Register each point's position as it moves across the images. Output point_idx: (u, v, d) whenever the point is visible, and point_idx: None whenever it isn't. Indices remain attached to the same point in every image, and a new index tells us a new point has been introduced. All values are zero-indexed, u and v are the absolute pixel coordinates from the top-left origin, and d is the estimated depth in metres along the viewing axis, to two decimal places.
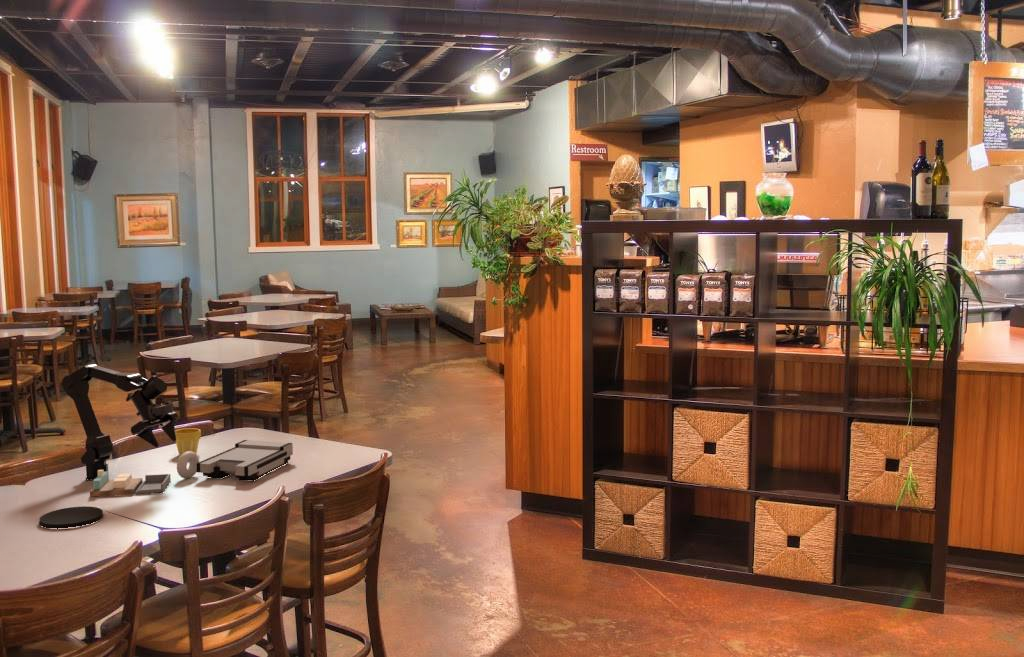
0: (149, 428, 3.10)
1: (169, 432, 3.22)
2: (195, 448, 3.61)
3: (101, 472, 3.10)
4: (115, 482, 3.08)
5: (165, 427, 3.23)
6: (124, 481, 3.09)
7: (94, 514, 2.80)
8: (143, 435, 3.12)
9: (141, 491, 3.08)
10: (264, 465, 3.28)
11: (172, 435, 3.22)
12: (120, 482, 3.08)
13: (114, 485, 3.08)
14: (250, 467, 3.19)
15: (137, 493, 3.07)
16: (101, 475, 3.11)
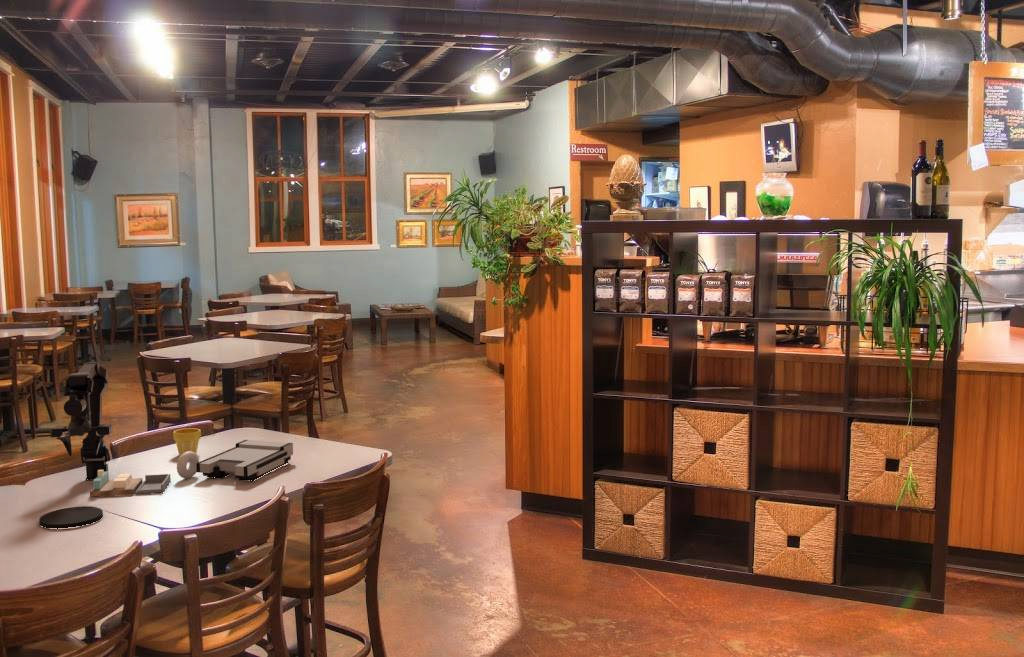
0: (60, 439, 3.05)
1: None
2: (195, 448, 3.61)
3: (101, 472, 3.10)
4: (115, 482, 3.08)
5: None
6: (124, 481, 3.09)
7: (94, 514, 2.80)
8: None
9: (141, 491, 3.08)
10: (264, 465, 3.28)
11: None
12: (120, 482, 3.08)
13: (114, 485, 3.08)
14: (249, 467, 3.19)
15: (137, 493, 3.07)
16: (101, 475, 3.11)
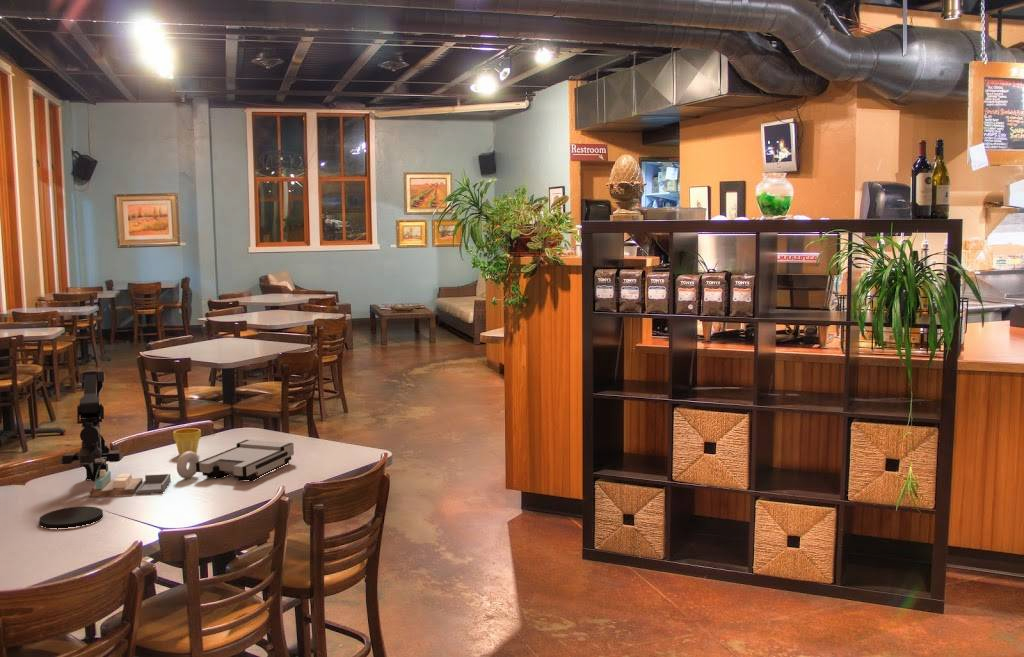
0: (83, 465, 3.07)
1: None
2: (195, 448, 3.61)
3: (103, 472, 3.11)
4: (115, 482, 3.08)
5: None
6: (124, 481, 3.09)
7: (94, 514, 2.80)
8: None
9: (141, 491, 3.08)
10: (263, 465, 3.28)
11: None
12: (120, 482, 3.08)
13: (114, 485, 3.08)
14: (248, 467, 3.19)
15: (137, 493, 3.07)
16: (103, 475, 3.11)
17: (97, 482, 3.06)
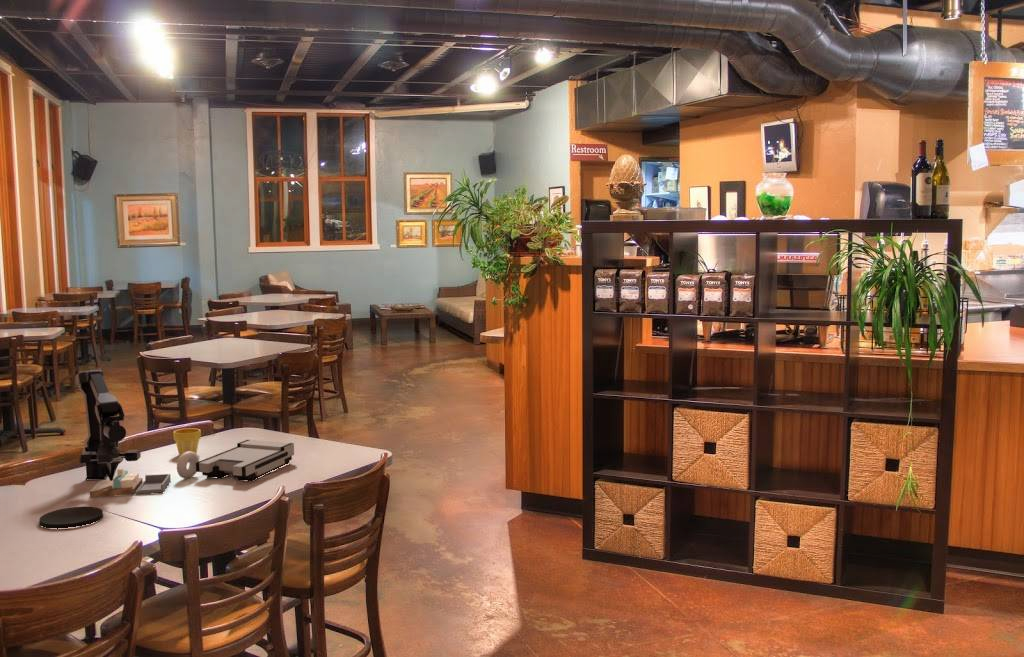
0: (101, 464, 3.08)
1: None
2: (195, 448, 3.61)
3: (121, 471, 3.12)
4: (122, 482, 3.09)
5: None
6: (131, 481, 3.09)
7: (94, 514, 2.80)
8: None
9: (141, 491, 3.08)
10: (263, 465, 3.28)
11: None
12: (127, 482, 3.09)
13: (121, 485, 3.09)
14: (248, 467, 3.19)
15: (137, 493, 3.07)
16: (121, 474, 3.12)
17: (115, 481, 3.07)
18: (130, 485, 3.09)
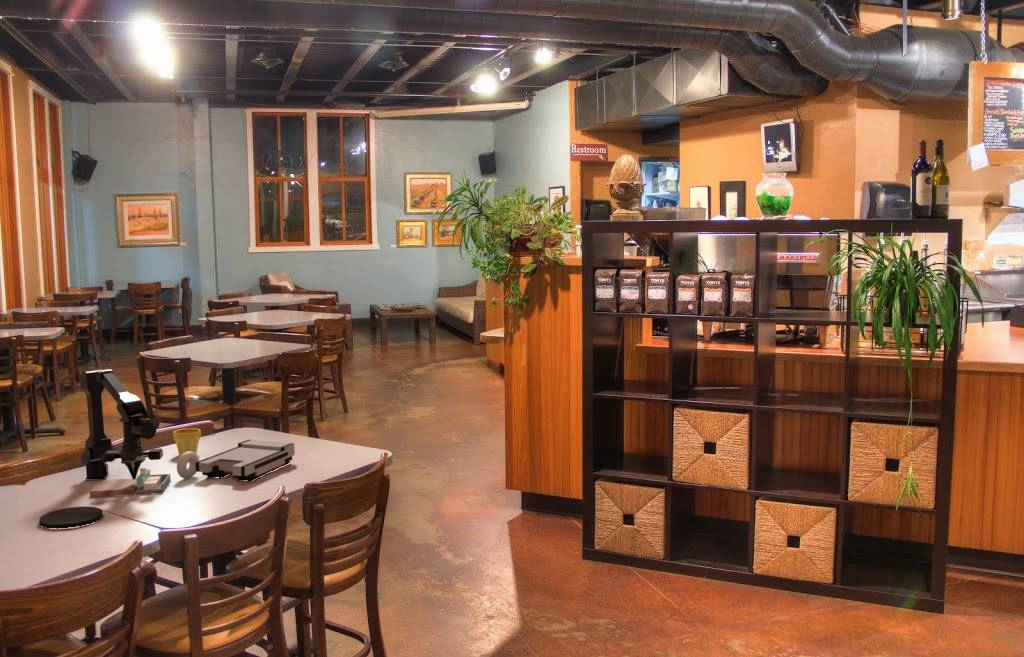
0: (124, 463, 3.10)
1: None
2: (195, 448, 3.61)
3: (143, 470, 3.13)
4: (146, 485, 3.10)
5: None
6: (155, 484, 3.11)
7: (94, 514, 2.80)
8: None
9: (141, 491, 3.08)
10: (263, 465, 3.28)
11: None
12: (151, 485, 3.10)
13: (145, 488, 3.10)
14: (247, 467, 3.19)
15: (137, 493, 3.07)
16: (143, 473, 3.13)
17: (138, 480, 3.08)
18: (153, 488, 3.11)
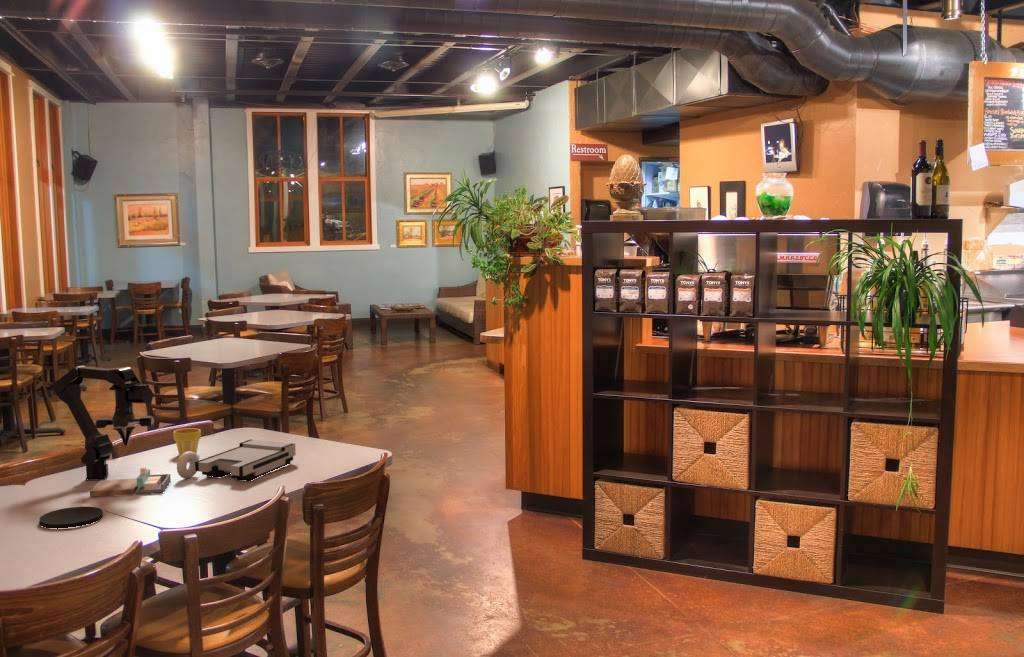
0: (116, 429, 3.20)
1: None
2: (195, 448, 3.61)
3: (144, 470, 3.13)
4: (146, 485, 3.10)
5: None
6: (155, 484, 3.11)
7: (94, 514, 2.80)
8: None
9: (141, 491, 3.08)
10: (262, 465, 3.28)
11: (126, 439, 3.23)
12: (151, 485, 3.10)
13: (145, 488, 3.10)
14: (245, 467, 3.19)
15: (137, 493, 3.07)
16: (144, 473, 3.13)
17: (138, 480, 3.08)
18: (153, 488, 3.11)
